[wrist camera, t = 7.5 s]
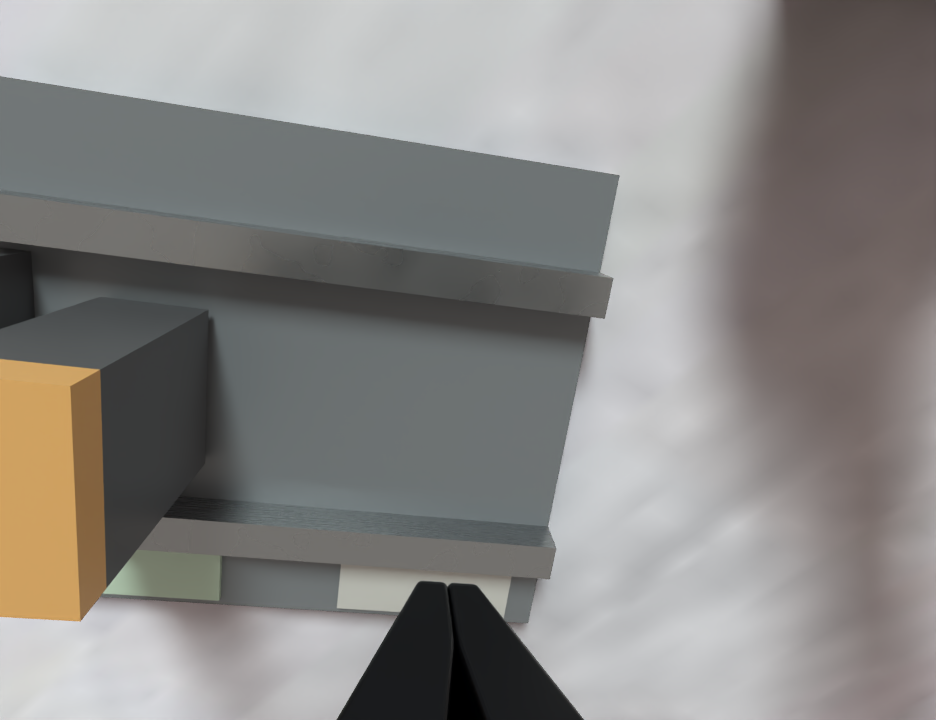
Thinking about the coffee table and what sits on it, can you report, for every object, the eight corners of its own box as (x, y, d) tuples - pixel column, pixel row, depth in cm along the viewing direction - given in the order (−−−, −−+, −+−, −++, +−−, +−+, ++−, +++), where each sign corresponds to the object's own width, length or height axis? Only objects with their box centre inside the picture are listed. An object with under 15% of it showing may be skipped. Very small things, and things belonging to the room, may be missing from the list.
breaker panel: (606, 176, 18) (641, 173, 15) (522, 601, 22) (537, 661, 20) (-9, 78, 16) (-102, 53, 13) (26, 568, 20) (-38, 630, 17)
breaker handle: (208, 309, 17) (69, 385, 10) (205, 463, 18) (80, 621, 11) (100, 296, 17) (-118, 367, 10) (104, 454, 18) (-84, 612, 11)
